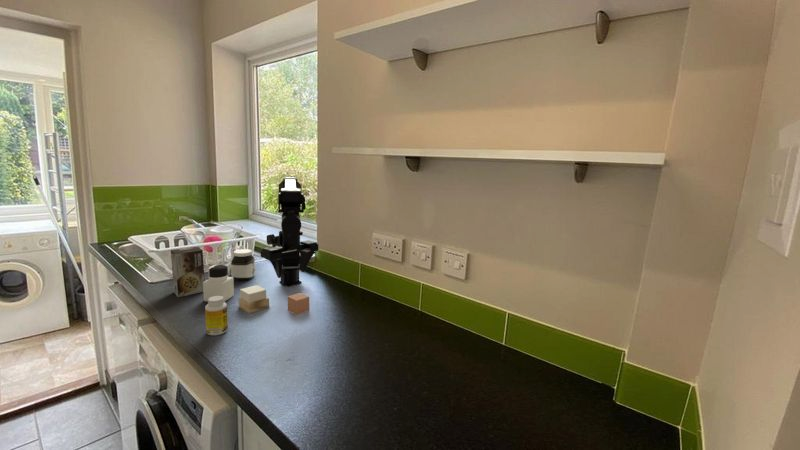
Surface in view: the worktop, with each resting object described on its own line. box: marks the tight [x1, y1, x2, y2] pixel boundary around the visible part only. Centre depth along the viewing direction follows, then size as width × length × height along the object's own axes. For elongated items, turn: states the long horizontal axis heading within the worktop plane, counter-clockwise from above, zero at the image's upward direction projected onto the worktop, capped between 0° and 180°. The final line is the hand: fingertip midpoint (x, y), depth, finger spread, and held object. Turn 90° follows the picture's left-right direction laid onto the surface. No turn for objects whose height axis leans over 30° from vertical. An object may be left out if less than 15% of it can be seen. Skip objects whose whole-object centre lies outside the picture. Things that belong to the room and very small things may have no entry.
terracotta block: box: [287, 292, 310, 316], centre depth 117 cm, size 5×5×5 cm
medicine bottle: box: [202, 264, 235, 303], centre depth 123 cm, size 7×7×12 cm
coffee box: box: [170, 246, 206, 298], centre depth 127 cm, size 9×6×16 cm
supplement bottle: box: [204, 296, 229, 336], centre depth 100 cm, size 6×6×10 cm
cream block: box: [239, 285, 267, 303], centre depth 118 cm, size 6×6×3 cm
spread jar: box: [227, 248, 256, 282], centre depth 146 cm, size 12×11×12 cm
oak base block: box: [238, 296, 270, 314], centre depth 118 cm, size 7×7×4 cm
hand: (291, 274), depth 116 cm, fingers open, 9 cm apart
